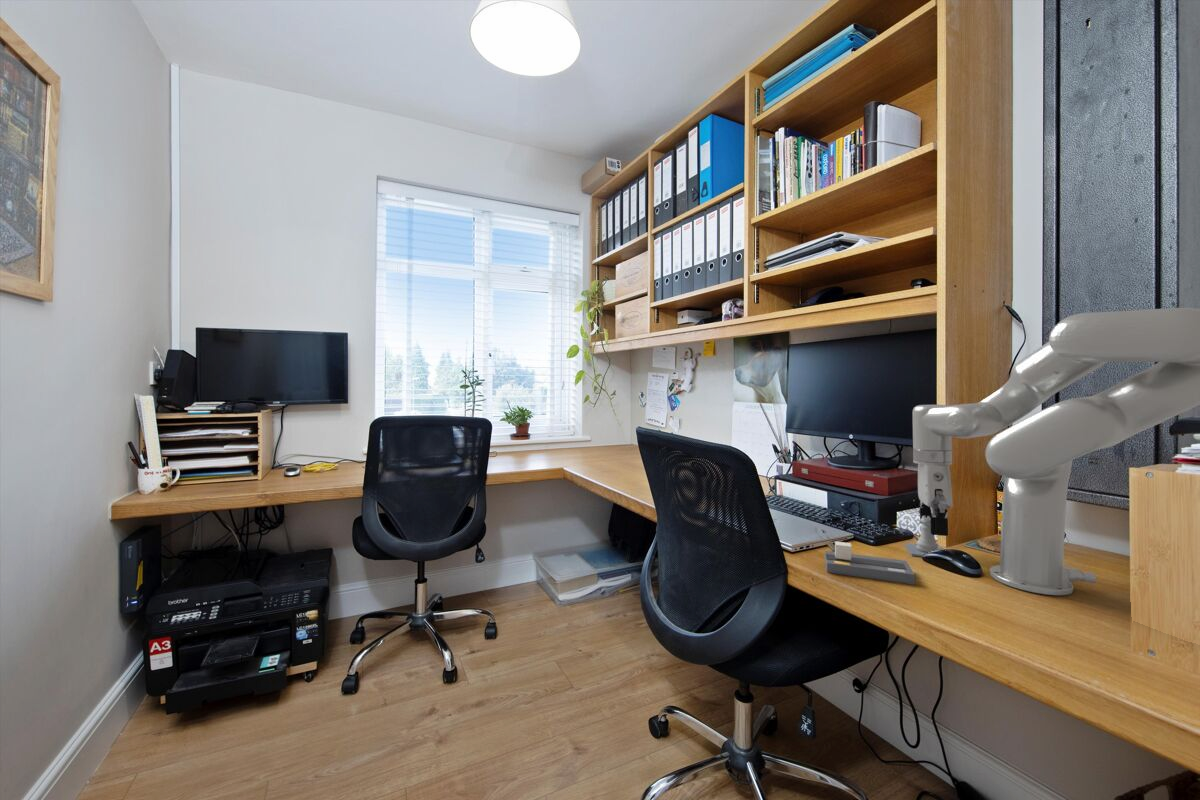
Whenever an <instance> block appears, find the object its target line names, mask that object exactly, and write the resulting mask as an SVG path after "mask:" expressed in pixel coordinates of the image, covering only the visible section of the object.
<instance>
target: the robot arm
mask: <svg viewBox="0 0 1200 800" xmlns="http://www.w3.org/2000/svg"><path fill="white" fill-rule="evenodd" d="M1108 362H1115V363H1117V362H1119V363H1121V362H1127V363H1128V362H1129V363H1133V362H1135V363H1143V362H1144V363H1148V362H1149V363H1155V364H1154V365H1152V366H1151V367H1149V368H1147V369H1145V370H1143V371H1139V372H1138V373H1136V374H1135V373H1134V375H1131V376H1129V377H1127V378H1126V379H1124V380H1122V381H1120V382H1118V383H1117V384H1114V385H1113V386H1111V387H1109V388H1107V389H1104V390H1103V391H1100V392H1098V393H1096V394H1093V395H1091V396H1090V395H1089V396H1083V397H1073V398H1068V399H1064V400H1061V401H1059V402H1057V403H1054V404H1052V405H1049V406H1047V407H1046V408H1044V409H1042V410H1040V411H1038V412H1035V413H1034V414H1032V415H1030V416H1028V417H1027V418H1025V419H1023V420H1021V419H1022V418H1023V417H1025V416H1027V415H1029V414H1030V413H1032V412H1033V411H1034V410H1035V409H1037V408H1038V407H1039V406H1041V405H1042V404H1043V403H1045V402H1046V401H1047V400H1048V399H1050V397H1053V396H1054V395H1055V394H1057V393H1058V392H1060V391H1062V390H1063V389H1065V388H1067V387H1068V386H1070V385H1071V384H1073V383H1075V382H1076V381H1079V380H1080V379H1082V378H1084V377H1085V376H1087V375H1088V374H1090V373H1092V372H1093V371H1095V370H1097V369H1098V368H1100V367H1102V366H1104V365H1105V364H1106V363H1108ZM1197 406H1200V308H1194V307H1167V308H1154V309H1135V310H1120V311H1119V310H1117V311H1116V310H1115V311H1100V312H1099V311H1098V312H1095V311H1094V312H1092V311H1091V312H1081V313H1076V314H1071V315H1070V316H1067V317H1066V318H1064V319H1062V320H1060V321H1059V322H1058V323H1057V324H1056V325H1055V326H1054V327H1053V328H1052V330H1051V331H1050V334H1049V337H1048V341H1047V342H1046V343H1045V344H1043V345H1041V346H1040V347H1038V348H1037V349H1036V350H1034V351H1033V352H1031V353H1029V354H1028V355H1027V356H1025V357H1024V358H1022V359H1021V360H1019V361H1018V362H1016V363H1015V364H1014V365H1013V367H1012V369H1011V372H1010V376H1009V378H1008V380H1007V381H1006V382H1005V383H1004V384H1003V385H1002V386H1001V387H1000V388H999V389H997V390H996V391H994V392H993V393H992V394H990V395H988V396H987V397H985V398H984V399H982V400H981V401H979V402H975V403H974V402H973V403H961V404H953V405H945V404H919V405H916V406H914V407H913V409H912V448H913V449H912V459H913V461H912V462H913V463H914V464H917V495H918V499H919V501H920V502H919V522H920V524H921V525H922V523H921V521H920V519H922V516H926V518H927V516H930V526H931V534H932V535H934V536H942V537H947V536H949V519H948V517H949V516H948V509H951V508H953V493H952V492H953V491H952V478H951V471H950V466H951V465H953V462H952V461H953V451H952V450H953V448H952V447H953V446H952V445H953V444H952V443H953V442H952V441H953V440H952V438H957V439H973V438H977V437H979V438H980V437H987V436H990V435H994V434H996V435H994V436H993V437H992V438H991V439H990V440H989V441H988V443H987V445H986V447H985V453H984V455H985V461H986V462H987V465H988V467H990V468H991V469H992V470H993V471H994V472H995V473H996V474H998V475H1000V476H1002V477H1004V483H1003V490H1002V507H1001V528H1000V529H1001V531H1000V533H1001V534H1000V550H999V551H1000V554H999V564H997V565H993V566H991V567H990V568H989V574H990V577H992V578H993V579H994V580H996V581H997V582H1000V583H1001V584H1004V585H1006V586H1010V587H1012V588H1015V589H1018V590H1022V591H1026V592H1029V593H1035V594H1041V595H1047V596H1067V595H1068V596H1069V595H1070V594H1072V593H1073V592H1074V585H1073V583H1074V582H1075V581H1077V582H1082V583H1089V584H1096V582H1097V577H1096V574H1095V573H1094V572H1085V571H1080V569H1079V568H1073V567H1068V566H1066V565H1065V564H1064V557H1065V555H1064V554H1065V553H1064V551H1065V550H1064V549H1065V535H1066V534H1065V533H1066V530H1065V529H1066V514H1067V500H1068V499H1067V498H1068V497H1067V496H1068V488H1069V481H1070V476H1071V472H1072V466H1073V460H1077V459H1078V458H1080V457H1083V456H1085V455H1088V454H1090V453H1092V452H1095V451H1098V450H1102V449H1103V450H1104V449H1108V448H1111V447H1113V446H1115V445H1117V444H1119V443H1121V442H1123V441H1125V440H1126V439H1128V438H1131V437H1133V436H1135V435H1137V434H1139V433H1142V432H1144V431H1146V430H1148V429H1150V428H1152V427H1154V426H1157V425H1159V424H1162V423H1164V422H1166V421H1167V420H1169V419H1172V418H1175V417H1176V416H1179V415H1180V414H1182V413H1184V412H1185V413H1186V412H1187V411H1189V410H1191V409H1193V408H1195V407H1197ZM1019 420H1020V421H1019ZM1017 421H1019V422H1017ZM1015 422H1017V423H1015ZM1014 423H1015V424H1014ZM1010 425H1011V426H1010ZM1005 428H1006V429H1005ZM1003 429H1004V430H1003Z"/></svg>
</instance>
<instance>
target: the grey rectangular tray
mask: <svg viewBox="0 0 1200 800" xmlns="http://www.w3.org/2000/svg"><path fill="white" fill-rule="evenodd" d="M824 562H825V569H826V573H830V574H835V575H836V574H837V575H844V576H852V577H858V578H865V579H872V580H873V579H874V580H879V581H880V580H881V581H888V582H896V583H901V584H907V585H915V584H916V583H915V582H916V581H915V580H916V579H915V578H916V574H915V573H914V570H913V569H912V567H911V566H910V565H909V563H908V561H907V560H905V559H904V560H903V559H894V558H889V557H887V558H886V557H881V556H880V557H879V556H870V555H865V554H864V555H862V554H855V553H851V560H844V559H837V558H836V557H835V552H833V551H832V550H824Z"/></svg>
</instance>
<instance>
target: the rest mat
mask: <svg viewBox="0 0 1200 800" xmlns="http://www.w3.org/2000/svg"><path fill="white" fill-rule="evenodd" d="M916 546H917V543H909V542H904V547H905V548H906V549H907V551H908V553H909V554H910V556H912V557H916V558H917V557H918V558H923V557H922V556H923V554H924V553H926V552H922V551H920V550H918V549H917V548H916ZM937 549H945V548H944V547H943V546H938V548H937Z"/></svg>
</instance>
